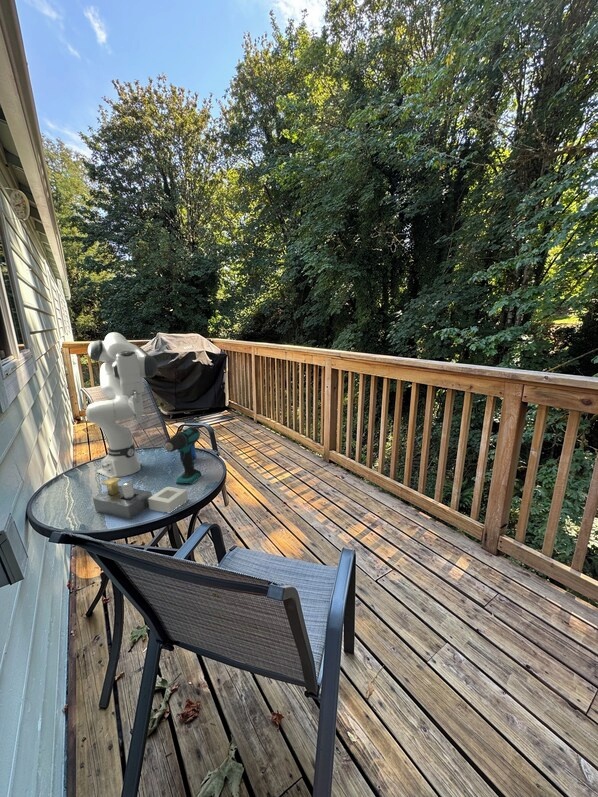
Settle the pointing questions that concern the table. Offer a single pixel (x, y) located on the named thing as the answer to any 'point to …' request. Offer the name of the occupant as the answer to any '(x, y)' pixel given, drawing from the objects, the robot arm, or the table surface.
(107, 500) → the socket block
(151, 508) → the cream square open frame
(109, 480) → the wooden tenon block
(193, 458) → the blue upright block
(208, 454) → the table surface
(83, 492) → the table surface
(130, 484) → the metal cylinder
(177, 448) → the power drill
